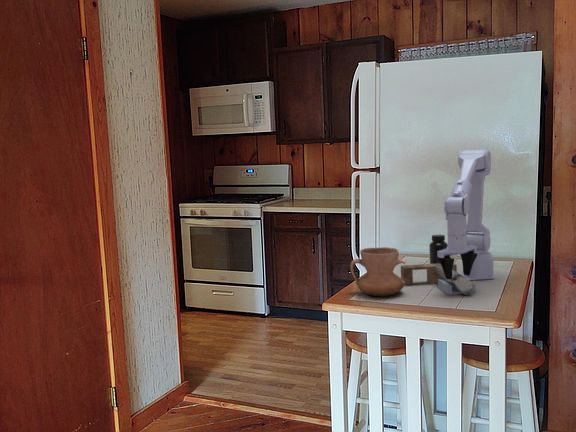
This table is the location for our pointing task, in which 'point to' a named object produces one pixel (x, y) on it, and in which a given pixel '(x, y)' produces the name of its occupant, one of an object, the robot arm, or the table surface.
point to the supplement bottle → (436, 247)
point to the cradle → (448, 288)
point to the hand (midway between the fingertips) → (457, 276)
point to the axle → (456, 281)
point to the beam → (408, 269)
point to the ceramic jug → (379, 271)
